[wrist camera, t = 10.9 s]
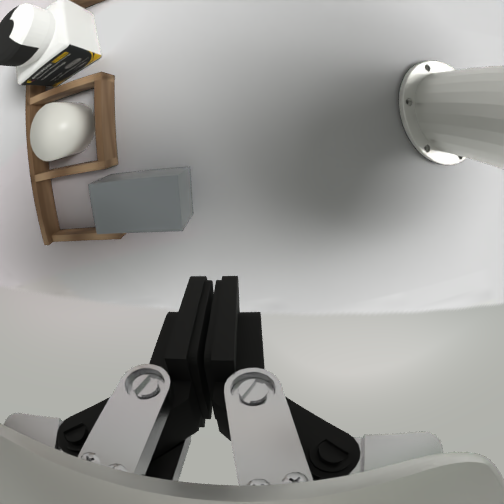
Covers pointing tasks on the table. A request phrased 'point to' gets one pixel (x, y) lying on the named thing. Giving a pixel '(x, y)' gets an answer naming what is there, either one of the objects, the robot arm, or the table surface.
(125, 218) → the grey rectangular block
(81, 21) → the medicine bottle
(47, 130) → the white rounded lump
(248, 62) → the table surface
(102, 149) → the wooden compartment tray
